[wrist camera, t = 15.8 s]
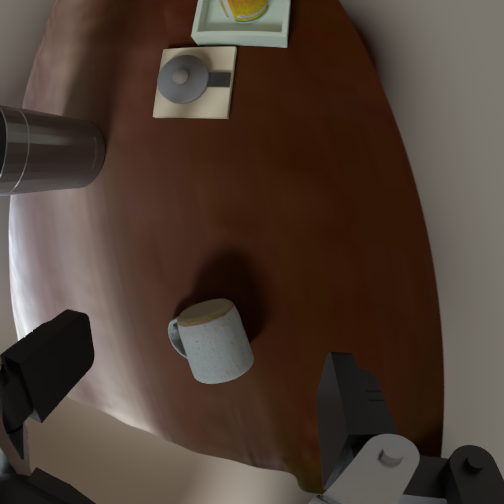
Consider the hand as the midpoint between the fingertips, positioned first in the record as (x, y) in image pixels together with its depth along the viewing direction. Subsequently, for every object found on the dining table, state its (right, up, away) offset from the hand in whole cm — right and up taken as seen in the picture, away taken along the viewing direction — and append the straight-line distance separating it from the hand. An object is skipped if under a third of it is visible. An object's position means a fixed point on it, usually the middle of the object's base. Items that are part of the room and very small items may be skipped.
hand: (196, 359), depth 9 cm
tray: (+1, +33, +21) cm, 39 cm away
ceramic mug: (-3, -6, +30) cm, 31 cm away
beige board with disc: (-5, +23, +24) cm, 34 cm away
